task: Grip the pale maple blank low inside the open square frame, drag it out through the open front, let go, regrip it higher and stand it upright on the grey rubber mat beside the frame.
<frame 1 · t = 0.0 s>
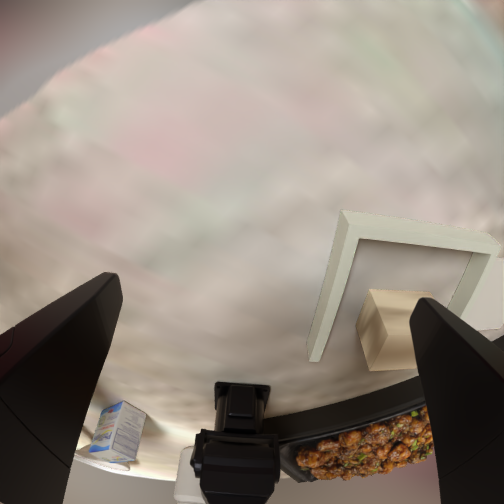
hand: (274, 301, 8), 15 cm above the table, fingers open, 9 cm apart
maple blank: (393, 308, 28), on the table
open square frame: (397, 301, 27), on the table
food platter: (405, 412, 41), on the table
rubber mat: (493, 295, 27), on the table
medicine box: (124, 410, 40), on the table
spoon rest: (93, 436, 50), on the table
can: (201, 450, 47), on the table
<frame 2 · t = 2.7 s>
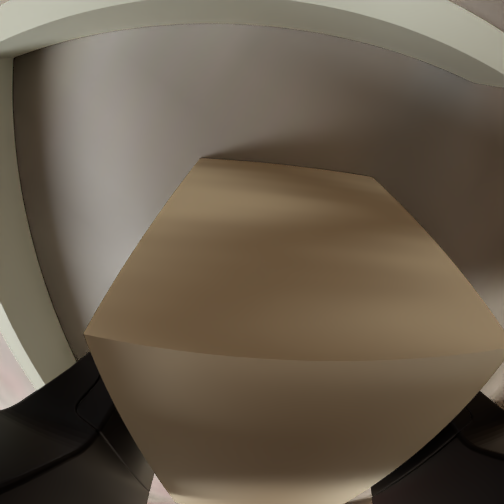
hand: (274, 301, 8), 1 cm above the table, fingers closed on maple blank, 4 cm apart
maple blank: (273, 279, 9), on the table, touching gripper
open square frame: (240, 276, 9), on the table
when the fingers open (1 cm above the table, at t = 6.2 s): maple blank stays where it is, on the table.
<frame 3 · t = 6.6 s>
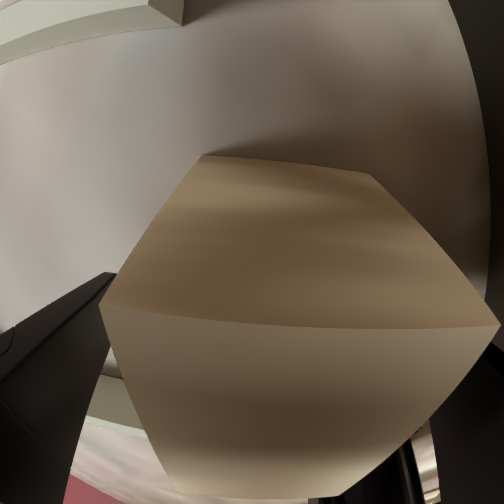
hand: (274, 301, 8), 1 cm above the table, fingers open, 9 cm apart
maple blank: (272, 272, 10), on the table
open square frame: (31, 250, 9), on the table
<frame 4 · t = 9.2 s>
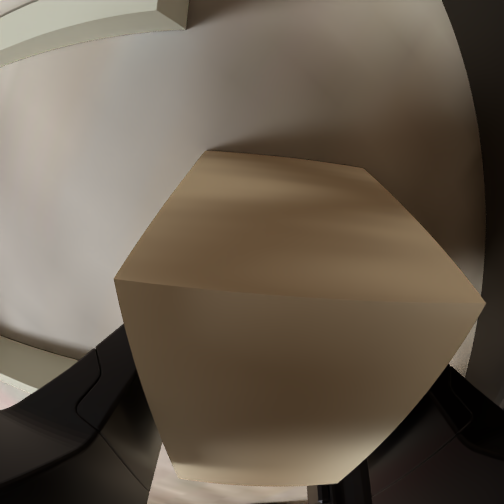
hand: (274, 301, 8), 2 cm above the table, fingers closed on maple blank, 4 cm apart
maple blank: (272, 264, 10), on the table, touching gripper
open square frame: (38, 243, 10), on the table
when the fingers open (3 cm above the table, at t = 14.6 s): maple blank stays where it is, resting on rubber mat.
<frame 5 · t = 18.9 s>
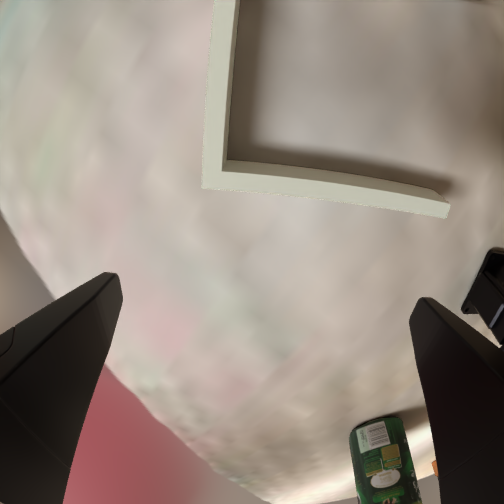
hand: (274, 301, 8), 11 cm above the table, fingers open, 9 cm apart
whiskey bottle: (453, 454, 48), on the table
open square frame: (369, 62, 14), on the table
coffee jar: (375, 429, 35), on the table
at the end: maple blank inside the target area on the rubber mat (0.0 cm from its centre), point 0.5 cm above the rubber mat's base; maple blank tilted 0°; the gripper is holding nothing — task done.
